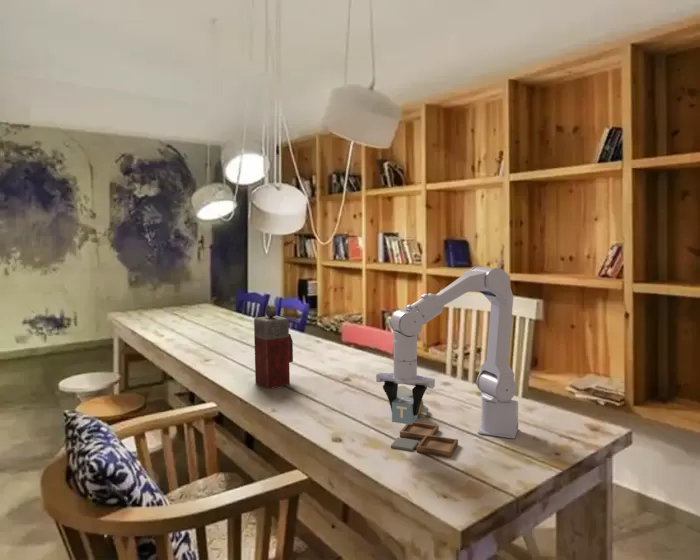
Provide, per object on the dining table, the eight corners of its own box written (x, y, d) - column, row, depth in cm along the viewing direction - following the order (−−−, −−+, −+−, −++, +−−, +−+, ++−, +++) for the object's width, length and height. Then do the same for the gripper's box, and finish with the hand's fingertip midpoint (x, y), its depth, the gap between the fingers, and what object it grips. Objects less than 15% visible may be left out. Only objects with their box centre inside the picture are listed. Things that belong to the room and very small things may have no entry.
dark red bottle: (295, 383, 188) (294, 304, 186) (267, 389, 181) (265, 307, 179) (282, 377, 195) (281, 301, 193) (255, 383, 189) (253, 304, 186)
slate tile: (418, 442, 135) (418, 440, 135) (412, 451, 130) (412, 448, 130) (398, 439, 137) (397, 437, 137) (390, 447, 132) (390, 445, 132)
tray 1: (438, 430, 143) (438, 425, 143) (430, 441, 136) (430, 436, 136) (409, 426, 146) (409, 421, 146) (399, 436, 139) (399, 431, 139)
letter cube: (417, 418, 134) (417, 398, 134) (411, 424, 129) (411, 404, 129) (398, 415, 136) (398, 396, 136) (391, 421, 131) (391, 401, 131)
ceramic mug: (403, 421, 150) (404, 394, 150) (388, 412, 157) (388, 387, 157) (434, 415, 155) (435, 389, 154) (418, 407, 162) (418, 382, 162)
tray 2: (457, 444, 134) (457, 439, 133) (450, 457, 126) (450, 451, 126) (426, 439, 137) (426, 434, 137) (416, 452, 129) (416, 446, 129)
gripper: (371, 360, 131) (371, 413, 132) (429, 365, 125) (429, 422, 126) (381, 353, 137) (381, 405, 138) (437, 359, 131) (436, 412, 133)
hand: (404, 412), depth 133 cm, fingers closed on letter cube, 5 cm apart
